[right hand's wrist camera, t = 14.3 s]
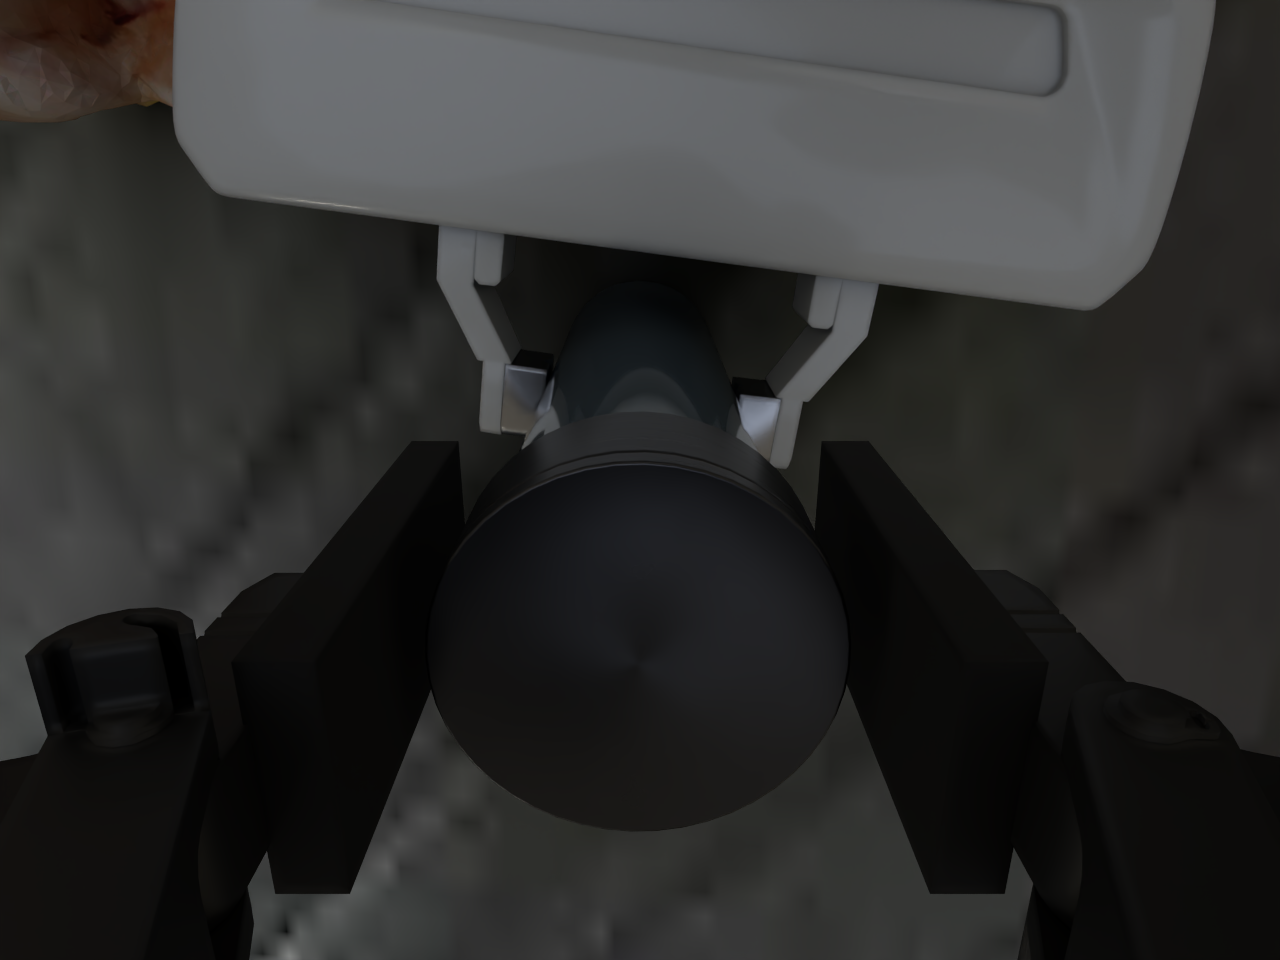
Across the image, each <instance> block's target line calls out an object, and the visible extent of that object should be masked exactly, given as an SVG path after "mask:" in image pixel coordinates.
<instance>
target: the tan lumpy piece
mask: <svg viewBox="0 0 1280 960" xmlns="http://www.w3.org/2000/svg"><path fill="white" fill-rule="evenodd" d="M174 13H175V0H0V120H3V121H13V122H44V123H47V122H64V121H69V120H75V119H78V118H79V117H81V116H84V115H88V114H91V113H94V112H98V111H101V110H107V109H112V108H117V107H121V106H126V105H130V104H135V103H136V104H139V105H143V106H146V107H147V106H149V105H152V104H154V103H156V102H158V101H160V102H162V103H165V104H167V105H169V106H171V107H173V104H172V72H173V33H174Z"/></svg>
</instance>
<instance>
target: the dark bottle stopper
mask: <svg viewBox="0 0 1280 960" xmlns="http://www.w3.org/2000/svg"><path fill="white" fill-rule="evenodd" d="M425 659H426V666H427V673H428V680H429V683H430V686H431V690H432V693H433V697H434V700H435V703H436V706H437V708H438V710H439V712H440V714H441V717H442V719H443V721H444V723H445V725H446V727H447V728H448V730H449V732H450V733H451V735H452V736H453V738H454V739H455V741H456V743H457V744H458V746H459V747H460V748H461V749H462V751H463V752H464V753H465V754H466V755H467V757H468V758H469V759H470V760H471V761H472V762H473V764H474V765H475V766H476V767H477V768H479V769H480V770H481V771H482V772H483V773H484V774H485V775H486V776H487V777H488V778H489V779H490V780H492V781H493V782H494V783H495V784H497V785H498V786H500V787H501V788H502V789H504V790H505V791H507V792H508V793H509V794H511V795H512V796H514V797H516V798H517V799H519V800H521V801H523V802H525V803H526V804H528V805H530V806H532V807H534V808H536V809H538V810H540V811H543V812H545V813H548V814H550V815H552V816H555V817H557V818H560V819H564V820H567V821H571V822H574V823H577V824H581V825H586V826H591V827H596V828H602V829H608V830H621V831H659V830H667V829H674V828H682V827H687V826H691V825H695V824H699V823H703V822H707V821H710V820H713V819H716V818H719V817H721V816H724V815H727V814H730V813H732V812H734V811H736V810H738V809H740V808H742V807H744V806H747V805H749V804H751V803H753V802H755V801H756V800H758V799H759V798H761V797H762V796H764V795H765V794H767V793H769V792H770V791H772V790H773V789H775V788H776V787H777V786H778V785H780V784H781V783H782V782H783V781H785V780H786V779H787V778H788V777H789V776H791V775H792V774H793V773H794V772H795V771H796V770H797V769H798V768H799V767H800V766H801V765H802V764H803V763H804V762H805V761H806V760H807V759H808V757H809V756H810V755H811V754H812V753H813V751H814V750H815V749H816V747H817V746H818V744H819V743H820V742H821V740H822V739H823V738H824V736H825V735H826V733H827V731H828V729H829V727H830V725H831V723H832V722H833V720H834V718H835V716H836V714H837V711H838V709H839V706H840V703H841V700H842V698H843V695H844V692H845V689H846V684H847V679H848V675H849V670H850V660H851V632H850V621H849V615H848V611H847V607H846V603H845V599H844V595H843V593H842V590H841V588H840V585H839V583H838V581H837V578H836V576H835V573H834V571H833V569H832V567H831V565H830V563H829V560H828V559H827V556H826V554H825V552H824V550H823V548H822V546H821V543H820V541H819V539H818V537H817V535H816V533H815V531H814V529H813V527H812V524H811V522H810V520H809V518H808V516H807V514H806V512H805V510H804V507H803V506H802V504H801V502H800V501H799V499H798V497H797V496H796V494H795V492H794V491H793V489H792V487H791V486H790V485H789V484H788V482H787V481H786V480H785V479H784V477H783V476H782V475H781V474H780V473H779V471H778V470H777V469H776V468H775V467H774V466H773V465H772V464H771V463H770V462H769V461H767V460H766V459H765V458H764V457H763V456H762V455H761V454H760V453H759V452H757V451H756V450H754V449H753V448H751V447H750V446H749V445H747V444H746V443H744V442H743V441H742V440H740V439H738V438H736V437H734V436H733V435H731V434H729V433H727V432H725V431H723V430H721V429H719V428H717V427H714V426H711V425H709V424H706V423H703V422H700V421H698V420H695V419H691V418H686V417H682V416H677V415H673V414H667V413H656V412H645V411H642V412H618V413H611V414H605V415H599V416H593V417H590V418H586V419H583V420H580V421H576V422H573V423H570V424H567V425H565V426H563V427H561V428H558V429H556V430H554V431H552V432H549V433H547V434H546V435H544V436H542V437H541V438H539V439H537V440H536V441H534V442H532V443H531V444H529V445H527V446H526V447H525V448H524V449H522V450H521V451H520V452H519V453H517V454H516V455H515V456H514V457H513V458H511V459H510V460H509V461H508V462H507V463H506V464H505V465H504V466H503V467H502V468H501V469H500V470H499V471H498V472H497V474H496V475H495V476H494V477H493V478H492V479H491V481H490V482H489V483H488V485H487V486H486V488H485V489H484V491H483V492H482V493H481V495H480V496H479V498H478V500H477V502H476V504H475V506H474V508H473V510H472V512H471V514H470V516H469V518H468V520H467V522H466V524H465V526H464V528H463V530H462V532H461V535H460V537H459V539H458V541H457V543H456V545H455V547H454V549H453V551H452V553H451V555H450V557H449V559H448V561H447V563H446V566H445V568H444V570H443V572H442V574H441V576H440V578H439V580H438V582H437V585H436V588H435V591H434V594H433V597H432V600H431V603H430V606H429V612H428V618H427V624H426V630H425Z"/></svg>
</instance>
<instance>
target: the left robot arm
mask: <svg viewBox="0 0 1280 960" xmlns="http://www.w3.org/2000/svg"><path fill="white" fill-rule="evenodd" d="M1215 7H1216V0H175V13H174V33H173V72H172V104H173V123H174V129H175V134H176V137H177V140H178V142H179V144H180V146H181V148H182V149H183V150H184V152H185V153H186V155H187V156H188V157H189V159H190V160H191V162H192V163H193V165H194V166H195V167H196V169H197V170H198V172H199V173H200V174H201V176H202V177H203V179H204V180H205V181H206V182H207V184H208V185H209V186H210V187H211V188H212V190H213V191H215V192H216V193H218V194H220V195H222V196H226V197H232V198H238V199H245V200H253V201H260V202H268V203H276V204H283V205H291V206H298V207H306V208H313V209H321V210H328V211H336V212H343V213H351V214H358V215H366V216H373V217H381V218H389V219H396V220H404V221H411V222H419V223H426V224H434V225H439V238H438V260H437V281H438V283H439V285H440V287H441V289H442V291H443V293H444V295H445V297H446V299H447V301H448V303H449V305H450V307H451V309H452V311H453V313H454V315H455V317H456V319H457V321H458V323H459V325H460V327H461V329H462V331H463V333H464V334H465V336H466V338H467V340H468V342H469V344H470V346H471V348H472V350H473V352H474V354H475V356H476V358H477V360H480V361H483V370H482V385H481V401H480V416H479V425H480V431H483V432H488V433H494V434H499V435H501V434H507V435H516V436H526V433H527V431H528V428H529V426H530V424H531V421H532V419H533V417H534V414H535V412H536V409H537V407H538V405H539V402H540V400H541V398H542V395H543V393H544V390H545V388H546V386H547V383H548V381H549V379H550V376H551V374H552V371H553V360H554V354H550V353H544V352H537V351H530V350H524V349H521V348H522V347H521V345H520V343H519V341H518V338H517V336H516V334H515V332H514V329H513V327H512V325H511V323H510V320H509V318H508V316H507V314H506V311H505V309H504V307H503V305H502V302H501V300H500V298H499V296H498V293H497V291H496V289H495V287H494V286H496V285H497V284H498V283H499V282H501V281H502V280H503V279H504V278H505V277H507V276H508V275H509V274H510V273H511V272H513V271H514V261H515V249H516V238H517V236H524V237H532V238H539V239H547V240H554V241H562V242H569V243H577V244H584V245H592V246H599V247H607V248H614V249H622V250H630V251H637V252H645V253H652V254H660V255H667V256H675V257H682V258H690V259H697V260H705V261H712V262H720V263H727V264H735V265H742V266H750V267H758V268H765V269H773V270H780V271H788V272H795V273H798V276H797V282H796V288H795V293H794V299H793V305H792V307H793V309H794V310H795V312H796V313H797V314H798V315H799V316H800V317H801V318H803V319H804V320H805V321H806V322H807V323H808V325H807V326H806V328H805V329H804V330H803V331H802V333H801V334H800V335H799V336H798V338H797V339H796V340H795V341H794V343H793V344H792V345H791V346H790V348H789V349H788V350H787V351H786V353H785V354H784V355H783V356H782V358H781V359H780V360H779V361H778V363H777V364H776V365H775V366H774V368H773V369H772V370H771V371H770V373H769V374H768V375H767V376H766V378H765V379H766V380H759V379H749V378H740V377H733V379H732V387H733V390H734V392H735V395H736V397H737V400H738V402H739V404H740V407H741V409H742V412H743V414H744V417H745V419H746V422H747V424H748V426H749V429H750V431H751V434H752V436H753V439H754V441H755V444H756V446H757V448H758V451H759V453H760V454H761V455H762V456H763V457H764V458H765V459H766V460H767V461H769V462H770V463H771V464H772V465H773V466H774V467H775V468H780V469H786V468H787V467H788V466H789V463H790V461H791V458H792V453H793V448H794V443H795V439H796V434H797V429H798V424H799V419H800V414H801V409H802V404H803V401H804V402H809V401H810V400H811V398H812V397H813V396H814V395H815V394H816V393H817V392H818V391H819V389H820V388H821V387H822V386H823V385H824V384H825V383H826V382H827V381H828V379H829V378H830V377H831V376H832V375H833V374H834V373H835V372H836V370H837V369H838V368H839V367H840V366H841V365H842V364H843V363H844V362H845V360H846V359H847V358H848V357H849V356H850V355H851V354H852V353H853V351H854V350H855V349H856V348H857V347H858V346H859V345H860V344H861V343H862V341H863V340H864V339H865V338H866V337H867V335H868V330H869V326H870V322H871V317H872V313H873V308H874V304H875V300H876V295H877V291H878V286H879V284H886V285H893V286H901V287H908V288H916V289H923V290H931V291H938V292H946V293H953V294H961V295H968V296H976V297H983V298H991V299H999V300H1006V301H1014V302H1021V303H1029V304H1036V305H1044V306H1051V307H1059V308H1067V309H1075V310H1082V311H1086V310H1093V309H1095V308H1097V307H1099V306H1100V305H1102V304H1103V303H1104V302H1106V301H1107V300H1108V299H1110V298H1111V297H1112V296H1113V295H1115V294H1116V293H1117V292H1118V291H1119V290H1120V289H1121V288H1123V287H1124V286H1125V285H1126V284H1127V283H1128V282H1129V281H1130V280H1132V279H1133V278H1134V277H1135V276H1136V275H1137V274H1138V273H1139V272H1140V271H1141V270H1142V269H1143V268H1144V266H1145V265H1146V264H1147V262H1148V260H1149V258H1150V256H1151V254H1152V252H1153V250H1154V248H1155V246H1156V243H1157V240H1158V237H1159V235H1160V232H1161V229H1162V226H1163V223H1164V220H1165V217H1166V214H1167V211H1168V208H1169V205H1170V201H1171V198H1172V195H1173V191H1174V188H1175V185H1176V181H1177V178H1178V175H1179V172H1180V168H1181V164H1182V161H1183V157H1184V153H1185V150H1186V146H1187V142H1188V139H1189V135H1190V131H1191V127H1192V122H1193V118H1194V114H1195V110H1196V106H1197V102H1198V98H1199V94H1200V89H1201V85H1202V80H1203V75H1204V71H1205V66H1206V61H1207V57H1208V51H1209V46H1210V41H1211V36H1212V30H1213V23H1214V15H1215Z"/></svg>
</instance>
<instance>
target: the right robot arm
mask: <svg viewBox="0 0 1280 960" xmlns="http://www.w3.org/2000/svg"><path fill="white" fill-rule="evenodd" d="M464 526H465V522H464V509H463V496H462V483H461V470H460V457H459V444H458V441H411V443H410V444H409V445H408V446H407V448H406V449H405V450H404V451H403V452H402V454H401V455H400V456H399V457H398V459H397V460H396V461H395V462H394V463H393V465H392V466H391V467H390V468H389V470H388V471H387V472H386V473H385V474H384V476H383V477H382V478H381V479H380V481H379V482H378V483H377V484H376V485H375V487H374V488H373V489H372V490H371V492H370V493H369V494H368V495H367V496H366V498H365V499H364V500H363V501H362V503H361V504H360V505H359V506H358V507H357V509H356V510H355V511H354V512H353V514H352V515H351V516H350V517H349V518H348V520H347V521H346V522H345V523H344V525H343V526H342V527H341V528H340V529H339V531H338V532H337V533H336V534H335V536H334V537H333V538H332V539H331V540H330V542H329V543H328V544H327V545H326V547H325V548H324V549H323V550H322V551H321V553H320V554H319V555H318V556H317V558H316V559H315V560H314V561H313V562H312V564H311V565H310V566H309V567H308V569H307V570H306V571H305V572H304V573H274V574H272V575H270V576H268V577H266V578H265V579H263V580H261V581H259V582H258V583H256V584H254V585H252V586H250V587H249V588H247V589H245V590H243V591H242V592H241V593H240V594H239V595H238V596H237V597H236V598H235V599H234V600H233V601H232V602H231V603H230V604H229V606H228V607H227V608H226V609H225V610H224V611H223V612H222V613H221V614H222V616H221V617H217V618H216V620H215V621H214V622H213V623H212V624H211V625H210V626H209V627H208V628H207V629H206V630H205V635H204V636H200V637H199V638H198V639H196V634H195V629H194V625H193V620H192V619H190V618H189V617H187V616H186V615H184V614H183V613H182V612H180V611H175V610H169V609H163V608H138V609H126V610H121V611H117V612H112V613H107V614H102V615H97V616H94V617H92V618H89V619H86V620H83V621H80V622H77V623H75V624H72V625H69V626H66V627H65V628H63V629H61V630H59V631H57V632H55V633H54V634H52V635H50V636H48V637H46V638H45V639H43V640H41V641H40V642H39V643H38V644H37V645H36V646H35V647H34V648H33V649H32V650H31V651H29V652H28V653H27V654H26V655H25V658H26V661H27V665H28V668H29V672H30V675H31V679H32V682H33V686H34V689H35V693H36V696H37V700H38V703H39V707H40V710H41V714H42V717H43V721H44V724H45V728H46V731H47V735H48V737H47V739H46V740H45V742H44V744H43V746H42V748H41V750H40V752H39V754H35V755H31V756H26V757H21V758H15V759H10V760H5V761H0V960H249V957H250V949H251V942H252V935H253V927H254V921H253V914H252V907H251V902H250V897H249V892H248V887H247V886H248V885H249V883H250V881H251V879H252V877H253V875H254V873H255V872H256V870H257V868H258V866H259V864H260V862H261V861H262V859H263V857H264V855H265V853H266V851H267V853H268V858H269V863H270V868H271V873H272V879H273V884H274V889H275V894H350V892H351V890H352V887H353V885H354V882H355V880H356V877H357V875H358V872H359V869H360V867H361V864H362V862H363V859H364V857H365V854H366V852H367V849H368V847H369V844H370V842H371V839H372V837H373V834H374V832H375V829H376V827H377V824H378V822H379V819H380V817H381V814H382V811H383V809H384V806H385V804H386V801H387V799H388V796H389V794H390V791H391V789H392V786H393V784H394V781H395V779H396V776H397V774H398V771H399V769H400V766H401V764H402V761H403V758H404V756H405V753H406V751H407V748H408V746H409V743H410V741H411V738H412V736H413V733H414V731H415V728H416V726H417V723H418V721H419V718H420V716H421V713H422V711H423V708H424V706H425V703H426V700H427V698H428V695H429V693H430V690H431V686H430V683H429V680H428V673H427V666H426V659H425V630H426V624H427V618H428V612H429V606H430V603H431V600H432V597H433V594H434V591H435V588H436V585H437V582H438V580H439V578H440V576H441V574H442V572H443V570H444V568H445V566H446V563H447V561H448V559H449V557H450V555H451V553H452V551H453V549H454V547H455V545H456V543H457V541H458V539H459V537H460V535H461V532H462V530H463V528H464ZM815 533H816V535H817V537H818V539H819V541H820V543H821V546H822V548H823V550H824V552H825V554H826V556H827V559H828V560H829V563H830V565H831V567H832V569H833V571H834V573H835V576H836V578H837V581H838V583H839V585H840V588H841V590H842V593H843V595H844V599H845V603H846V607H847V611H848V615H849V621H850V632H851V660H850V670H849V675H848V679H847V685H848V688H849V690H850V693H851V695H852V698H853V700H854V703H855V706H856V708H857V711H858V713H859V716H860V718H861V721H862V723H863V726H864V728H865V731H866V733H867V736H868V738H869V741H870V743H871V746H872V748H873V751H874V753H875V756H876V758H877V761H878V764H879V766H880V769H881V771H882V774H883V776H884V779H885V781H886V784H887V786H888V789H889V791H890V794H891V796H892V799H893V801H894V804H895V806H896V809H897V811H898V814H899V816H900V819H901V822H902V824H903V827H904V829H905V832H906V834H907V837H908V839H909V842H910V844H911V847H912V849H913V852H914V854H915V857H916V859H917V862H918V864H919V867H920V869H921V872H922V874H923V877H924V880H925V882H926V885H927V887H928V890H929V892H930V894H1005V889H1006V884H1007V879H1008V874H1009V868H1010V863H1011V858H1012V853H1013V847H1014V849H1015V851H1016V852H1017V854H1018V856H1019V858H1020V860H1021V862H1022V863H1023V865H1024V867H1025V869H1026V871H1027V873H1028V874H1029V876H1030V878H1031V880H1032V882H1033V887H1032V892H1031V897H1030V902H1029V907H1028V912H1027V916H1026V921H1025V926H1024V931H1023V936H1022V941H1021V946H1020V951H1019V955H1018V960H1280V757H1275V756H1270V755H1265V754H1259V753H1254V752H1250V751H1245V750H1241V749H1240V748H1239V746H1238V744H1237V743H1236V741H1235V739H1234V737H1233V735H1232V734H1231V733H1230V732H1229V730H1228V729H1227V728H1226V727H1225V726H1224V725H1223V724H1222V722H1221V721H1220V720H1219V719H1218V718H1217V717H1216V716H1214V715H1213V714H1211V713H1210V712H1208V711H1207V710H1205V709H1203V708H1202V707H1200V706H1199V705H1197V704H1196V703H1194V702H1193V701H1190V700H1188V699H1185V698H1183V697H1181V696H1178V695H1176V694H1173V693H1171V692H1169V691H1166V690H1164V689H1160V688H1155V687H1151V686H1147V685H1143V684H1139V683H1134V682H1126V681H1125V680H1124V679H1123V678H1122V677H1121V676H1120V675H1119V674H1118V672H1117V671H1116V670H1115V669H1114V668H1113V667H1112V666H1111V665H1110V664H1109V663H1108V662H1107V661H1106V660H1105V659H1104V657H1103V656H1102V655H1101V654H1100V653H1099V652H1098V651H1097V650H1096V649H1095V648H1094V647H1093V646H1092V645H1091V644H1090V643H1089V641H1088V640H1087V639H1086V638H1085V637H1084V636H1083V635H1082V634H1081V633H1076V628H1075V626H1074V625H1073V624H1072V623H1071V622H1070V621H1069V620H1068V619H1067V618H1066V617H1065V616H1064V615H1063V614H1059V609H1058V608H1057V607H1056V606H1055V605H1054V604H1053V603H1052V602H1051V601H1050V600H1049V599H1048V598H1047V597H1046V595H1045V594H1044V593H1043V592H1042V591H1041V590H1040V589H1039V588H1037V587H1035V586H1034V585H1032V584H1030V583H1028V582H1026V581H1025V580H1023V579H1021V578H1019V577H1017V576H1016V575H1014V574H1012V573H1010V572H1008V571H1007V570H973V569H972V567H971V566H970V565H969V564H968V562H967V561H966V560H965V559H964V558H963V556H962V555H961V554H960V553H959V551H958V550H957V549H956V548H955V547H954V545H953V544H952V543H951V542H950V540H949V539H948V538H947V537H946V536H945V534H944V533H943V532H942V531H941V529H940V528H939V527H938V526H937V525H936V523H935V522H934V521H933V520H932V518H931V517H930V516H929V515H928V514H927V512H926V511H925V510H924V509H923V507H922V506H921V505H920V504H919V503H918V501H917V500H916V499H915V498H914V496H913V495H912V494H911V493H910V492H909V490H908V489H907V488H906V487H905V485H904V484H903V483H902V482H901V481H900V479H899V478H898V477H897V476H896V474H895V473H894V472H893V471H892V470H891V468H890V467H889V466H888V465H887V463H886V462H885V461H884V460H883V459H882V457H881V456H880V455H879V454H878V452H877V451H876V450H875V449H874V448H873V446H872V445H871V444H870V443H869V441H822V444H821V457H820V470H819V483H818V496H817V509H816V522H815Z"/></svg>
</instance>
